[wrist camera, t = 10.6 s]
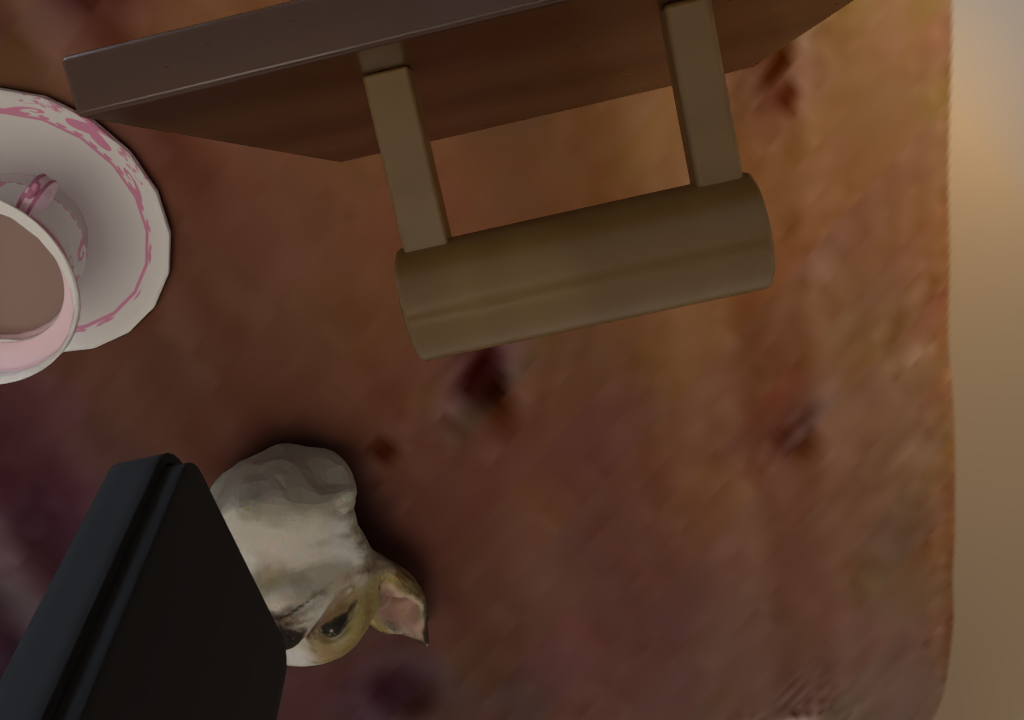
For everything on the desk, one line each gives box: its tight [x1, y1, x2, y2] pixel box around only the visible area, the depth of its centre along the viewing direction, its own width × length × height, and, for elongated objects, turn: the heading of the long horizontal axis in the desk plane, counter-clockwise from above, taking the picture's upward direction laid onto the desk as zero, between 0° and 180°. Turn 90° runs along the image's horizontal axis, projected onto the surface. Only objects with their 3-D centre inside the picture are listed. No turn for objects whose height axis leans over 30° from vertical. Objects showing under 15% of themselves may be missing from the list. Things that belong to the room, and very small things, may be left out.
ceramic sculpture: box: [210, 443, 429, 666], centre depth 46 cm, size 11×9×15 cm
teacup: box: [0, 87, 171, 384], centre depth 38 cm, size 12×12×6 cm
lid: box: [63, 0, 853, 361], centre depth 20 cm, size 16×12×5 cm
